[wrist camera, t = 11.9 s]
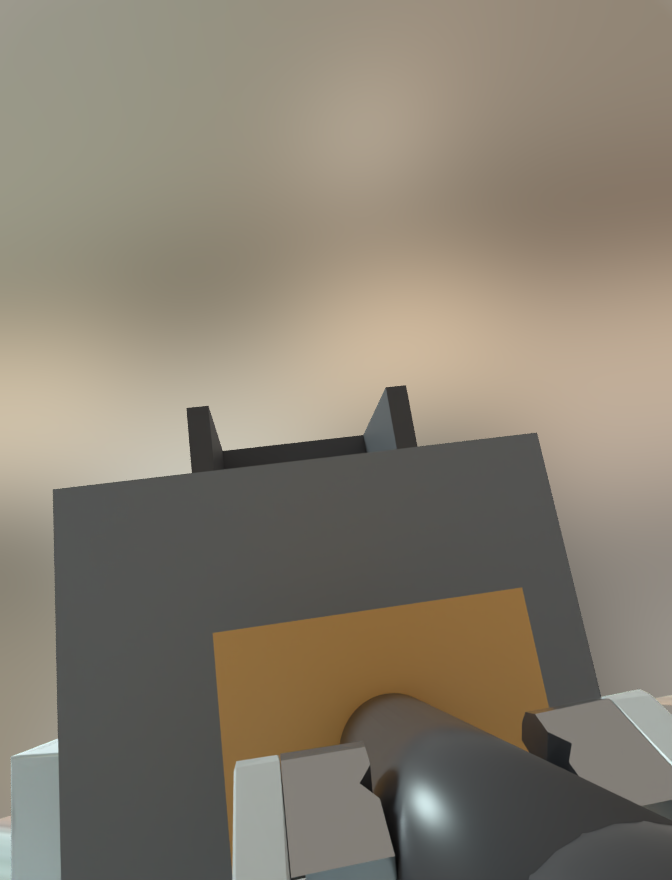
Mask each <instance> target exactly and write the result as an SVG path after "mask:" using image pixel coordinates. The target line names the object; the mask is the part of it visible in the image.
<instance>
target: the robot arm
mask: <svg viewBox="0 0 672 880" xmlns="http://www.w3.org/2000/svg"><path fill="white" fill-rule="evenodd" d="M522 741H523V743H524V745H525V746H526V748H527V750H528V751H529V753H531V754H533V755H535V756H538V757H540V758H542V759H544V760H546V761H548V762H550V763H552V764H554V765H556V766H558V767H561V768H563V769H565V770H567V771H569V772H571V773H573V774H575V775H577V776H579V777H581V778H584V779H586V780H588V781H590V782H592V783H594V784H596V785H598V786H600V787H602V788H605V789H607V790H609V791H611V792H613V793H615V794H617V795H619V796H621V797H623V798H625V799H628V800H630V801H632V802H634V803H636V804H638V805H640V806H642V807H644V808H646V809H648V810H651V811H653V812H655V813H657V814H659V815H661V816H663V817H665V818H667V819H669V820H671V821H672V715H671V714H670V713H669V712H668V711H667V710H666V709H665V708H664V707H663V706H662V705H661V704H660V703H659V702H658V701H657V700H656V699H655V698H654V697H652V696H651V695H650V694H649V693H647V692H644V691H642V690H640V689H638V690H633V691H628V692H623V693H619V694H613V695H608V696H604V697H601V698H600V699H592V700H587V701H581V702H576V703H571V704H565V705H560V706H555V707H549V708H544V709H539V710H533V711H528V712H525V715H524V718H523V721H522ZM280 760H281V765H280ZM281 772H282V773H281ZM232 880H397V874H396V861H395V854H394V850H393V846H392V843H391V839H390V835H389V831H388V828H387V824H386V820H385V816H384V813H383V809H382V805H381V801H380V798H379V797H377V796H376V795H375V794H373V791H372V779H371V767H370V762H369V758H368V755H367V752H366V748H365V745H364V743H363V741H359V742H353V743H346V744H340V745H333V746H326V747H320V748H313V749H307V750H300V751H294V752H287V753H281V754H280V758H279V755H273V756H266V757H260V758H254V759H247V760H241V761H236V765H235V769H234V787H233V866H232Z"/></svg>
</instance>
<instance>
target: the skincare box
mask: <svg viewBox="0 0 672 880" xmlns="http://www.w3.org/2000/svg"><path fill="white" fill-rule="evenodd" d="M11 880H61V858H60V809H59V760H58V739H56V740H53V741H51V742H48V743H45V744H43V745H40V746H38V747H35V748H32V749H30V750H27V751H25V752H22V753H19V754H16V755H13V756H11Z"/></svg>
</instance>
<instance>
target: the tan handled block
mask: <svg viewBox="0 0 672 880" xmlns="http://www.w3.org/2000/svg"><path fill="white" fill-rule="evenodd" d="M213 643H214V656H215V668H216V680H217V693H218V705H219V717H220V730H221V742H222V755H223V767H224V779H225V792H226V804H227V816H228V829H229V841H230V853H231V866H233V787H234V769H235V765H236V761H241V760H247V759H254V758H260V757H266V756H273V755H279V758H280V754H281V753H287V752H294V751H300V750H307V749H313V748H320V747H326V746H333V745H340V744H346V743H353V742H359V741H363V743H364V745H365V748H366V752H367V755H368V758H369V762H370V767H371V779H372V791H373V794H375V795H376V796H377V797H379V798H380V801H381V805H382V809H383V813H384V816H385V820H386V824H387V828H388V831H389V835H390V839H391V843H392V846H393V850H394V854H395V861H396V874H397V880H672V821H671V820H669V819H667V818H665V817H663V816H661V815H659V814H657V813H655V812H653V811H651V810H648V809H646V808H644V807H642V806H640V805H638V804H636V803H634V802H632V801H630V800H628V799H625V798H623V797H621V796H619V795H617V794H615V793H613V792H611V791H609V790H607V789H605V788H602V787H600V786H598V785H596V784H594V783H592V782H590V781H588V780H586V779H584V778H581V777H579V776H577V775H575V774H573V773H571V772H569V771H567V770H565V769H563V768H561V767H558V766H556V765H554V764H552V763H550V762H548V761H546V760H544V759H542V758H540V757H538V756H535V755H533V754H531V753H529V751H528V750H527V748H526V746H525V745H524V743H523V741H522V721H523V718H524V715H525V712H528V711H533V710H539V709H544V708H549V705H548V701H547V696H546V692H545V687H544V683H543V678H542V674H541V669H540V665H539V661H538V656H537V652H536V647H535V643H534V638H533V634H532V629H531V625H530V620H529V616H528V611H527V607H526V603H525V598H524V594H523V589H522V588H515V589H508V590H501V591H494V592H488V593H481V594H474V595H467V596H460V597H454V598H447V599H440V600H433V601H427V602H420V603H413V604H406V605H399V606H393V607H386V608H379V609H372V610H365V611H359V612H352V613H345V614H338V615H332V616H325V617H318V618H311V619H304V620H298V621H291V622H284V623H277V624H270V625H264V626H257V627H250V628H243V629H236V630H230V631H223V632H216V633H213ZM280 765H281V760H280ZM281 773H282V772H281Z"/></svg>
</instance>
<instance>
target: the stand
mask: <svg viewBox="0 0 672 880" xmlns="http://www.w3.org/2000/svg"><path fill="white" fill-rule="evenodd" d="M187 419H188V431H189V443H190V454H191V455H190V456H191V467H192V473H191V474H181V475H173V476H164V477H156V478H147V479H139V480H131V481H122V482H113V483H105V484H96V485H87V486H79V487H71V488H62V489H53V514H54V515H53V516H54V565H55V610H56V611H55V613H56V661H57V662H56V663H57V710H58V760H59V809H60V858H61V880H232V866H231V853H230V841H229V829H228V816H227V804H226V792H225V779H224V767H223V755H222V742H221V730H220V717H219V705H218V693H217V680H216V668H215V656H214V643H213V633H216V632H223V631H230V630H236V629H243V628H250V627H257V626H264V625H270V624H277V623H284V622H291V621H298V620H304V619H311V618H318V617H325V616H332V615H338V614H345V613H352V612H359V611H365V610H372V609H379V608H386V607H393V606H399V605H406V604H413V603H420V602H427V601H433V600H440V599H447V598H454V597H460V596H467V595H474V594H481V593H488V592H494V591H501V590H508V589H515V588H522V589H523V594H524V598H525V603H526V607H527V611H528V616H529V620H530V625H531V629H532V634H533V638H534V643H535V647H536V652H537V656H538V661H539V665H540V669H541V674H542V678H543V683H544V687H545V692H546V696H547V701H548V705H549V707H555V706H560V705H565V704H571V703H576V702H581V701H587V700H592V699H600V698H601V694H600V690H599V686H598V682H597V678H596V673H595V669H594V665H593V661H592V657H591V653H590V649H589V645H588V641H587V637H586V633H585V629H584V624H583V620H582V616H581V612H580V608H579V604H578V600H577V596H576V591H575V587H574V583H573V579H572V575H571V571H570V567H569V563H568V559H567V554H566V550H565V546H564V542H563V538H562V534H561V530H560V526H559V521H558V517H557V513H556V510H555V505H554V501H553V497H552V493H551V489H550V485H549V480H548V476H547V472H546V468H545V464H544V460H543V456H542V452H541V448H540V443H539V439H538V436H537V433H531V434H522V435H514V436H505V437H496V438H489V439H479V440H471V441H462V442H454V443H445V444H437V445H428V446H420V447H417V442H416V437H415V431H414V426H413V421H412V416H411V411H410V405H409V400H408V394H407V390H406V386H395V387H386V388H385V390H384V393H383V395H382V397H381V399H380V401H379V403H378V405H377V407H376V409H375V412H374V414H373V416H372V418H371V420H370V422H369V424H368V427H367V429H366V431H365V433H364V435H361V436H352V437H343V438H334V439H325V440H317V441H309V442H299V443H291V444H281V445H273V446H264V447H255V448H246V449H237V450H229V451H222V447H221V444H220V441H219V438H218V435H217V432H216V429H215V425H214V422H213V419H212V416H211V413H210V410H209V406H203V407H193V408H187Z"/></svg>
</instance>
